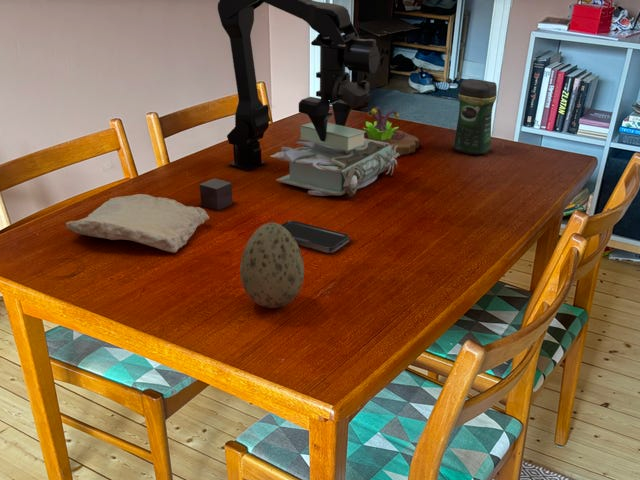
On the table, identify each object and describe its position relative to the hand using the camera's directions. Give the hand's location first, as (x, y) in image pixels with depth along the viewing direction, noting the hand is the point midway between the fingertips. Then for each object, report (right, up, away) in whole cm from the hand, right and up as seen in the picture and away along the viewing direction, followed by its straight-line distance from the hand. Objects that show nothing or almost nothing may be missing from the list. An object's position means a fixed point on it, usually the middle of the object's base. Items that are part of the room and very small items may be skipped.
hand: (331, 137), depth 175 cm
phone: (-4, -28, -23) cm, 37 cm away
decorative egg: (-10, -43, -46) cm, 64 cm away
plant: (+13, +6, +29) cm, 32 cm away
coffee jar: (+38, +5, +28) cm, 48 cm away
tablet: (-40, -27, -22) cm, 53 cm away
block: (-26, -18, -8) cm, 32 cm away
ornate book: (+2, -8, +8) cm, 11 cm away
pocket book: (0, -1, 0) cm, 1 cm away
